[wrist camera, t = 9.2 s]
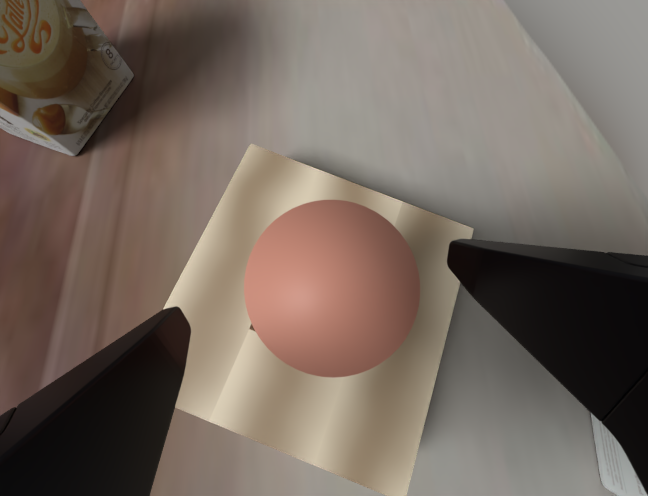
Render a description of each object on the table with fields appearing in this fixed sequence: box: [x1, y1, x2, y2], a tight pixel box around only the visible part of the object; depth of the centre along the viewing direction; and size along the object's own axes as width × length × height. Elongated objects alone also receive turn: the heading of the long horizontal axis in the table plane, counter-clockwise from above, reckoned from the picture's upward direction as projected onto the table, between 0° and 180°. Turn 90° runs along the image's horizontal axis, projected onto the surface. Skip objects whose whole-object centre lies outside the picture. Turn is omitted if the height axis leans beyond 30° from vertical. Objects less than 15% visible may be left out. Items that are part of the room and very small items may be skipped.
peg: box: [244, 200, 420, 378], centre depth 13 cm, size 4×4×14 cm
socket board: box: [163, 144, 474, 496], centre depth 18 cm, size 16×16×4 cm
